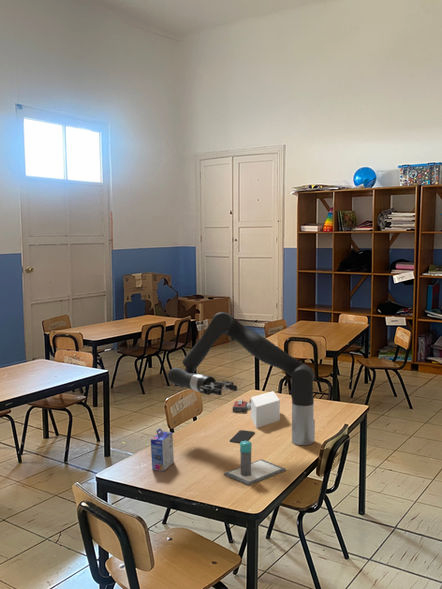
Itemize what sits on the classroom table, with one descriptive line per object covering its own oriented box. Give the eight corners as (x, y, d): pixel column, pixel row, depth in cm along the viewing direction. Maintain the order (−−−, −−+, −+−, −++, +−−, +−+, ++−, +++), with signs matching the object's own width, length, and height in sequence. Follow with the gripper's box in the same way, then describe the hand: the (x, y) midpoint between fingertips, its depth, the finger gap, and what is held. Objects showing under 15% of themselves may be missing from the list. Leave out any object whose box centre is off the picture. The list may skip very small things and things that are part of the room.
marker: (245, 470, 218) (245, 440, 217) (253, 474, 215) (253, 443, 214) (237, 473, 216) (237, 442, 214) (245, 477, 213) (245, 445, 211)
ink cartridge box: (161, 460, 231) (160, 425, 230) (174, 461, 230) (173, 426, 228) (150, 469, 222) (149, 433, 221) (163, 471, 220) (163, 434, 219)
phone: (228, 441, 251) (240, 429, 265) (228, 442, 252) (240, 431, 265) (244, 443, 249) (255, 431, 263) (244, 445, 249) (255, 433, 263)
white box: (287, 412, 293) (287, 392, 292) (271, 430, 266) (271, 408, 265) (259, 409, 298) (259, 389, 297) (241, 426, 272) (241, 405, 270)
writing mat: (261, 460, 230) (261, 458, 230) (285, 470, 221) (285, 468, 220) (224, 474, 217) (224, 472, 217) (248, 485, 207) (248, 483, 207)
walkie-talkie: (249, 414, 291) (252, 402, 310) (249, 405, 290) (252, 394, 310) (231, 413, 292) (236, 402, 312) (231, 405, 292) (236, 394, 311)
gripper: (189, 378, 240) (215, 384, 228) (215, 372, 250) (241, 378, 238) (190, 395, 241) (216, 403, 229) (215, 389, 251) (241, 396, 239)
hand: (228, 390), depth 234 cm, fingers open, 8 cm apart
